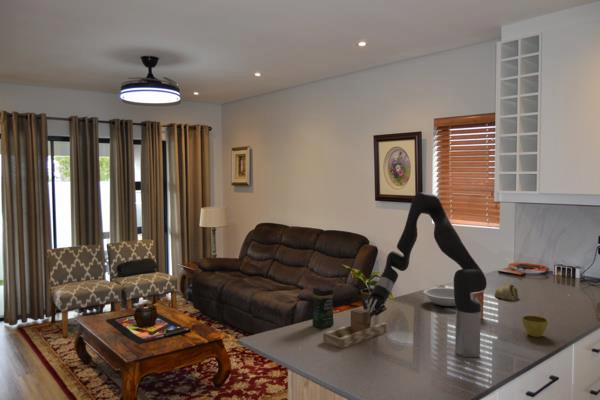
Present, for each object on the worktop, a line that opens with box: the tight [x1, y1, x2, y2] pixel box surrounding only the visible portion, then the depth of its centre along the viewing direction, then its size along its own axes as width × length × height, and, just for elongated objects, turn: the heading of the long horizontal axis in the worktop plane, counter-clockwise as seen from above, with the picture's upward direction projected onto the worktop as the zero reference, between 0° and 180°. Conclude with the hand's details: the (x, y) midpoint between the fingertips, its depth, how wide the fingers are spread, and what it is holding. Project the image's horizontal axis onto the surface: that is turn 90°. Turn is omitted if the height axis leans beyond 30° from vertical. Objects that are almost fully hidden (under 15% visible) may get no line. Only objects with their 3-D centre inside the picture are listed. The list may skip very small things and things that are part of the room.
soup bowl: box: [423, 287, 456, 307], centre depth 254 cm, size 24×24×7 cm
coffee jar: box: [312, 284, 335, 329], centre depth 219 cm, size 10×8×19 cm
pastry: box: [494, 284, 520, 302], centre depth 268 cm, size 14×12×8 cm
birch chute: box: [322, 319, 387, 349], centre depth 204 cm, size 30×10×4 cm, turn 133°
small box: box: [470, 290, 485, 318], centre depth 232 cm, size 8×6×13 cm
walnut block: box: [350, 307, 370, 333], centre depth 206 cm, size 6×6×10 cm
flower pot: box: [521, 315, 549, 338], centre depth 205 cm, size 10×10×7 cm
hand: (365, 321), depth 208 cm, fingers closed
